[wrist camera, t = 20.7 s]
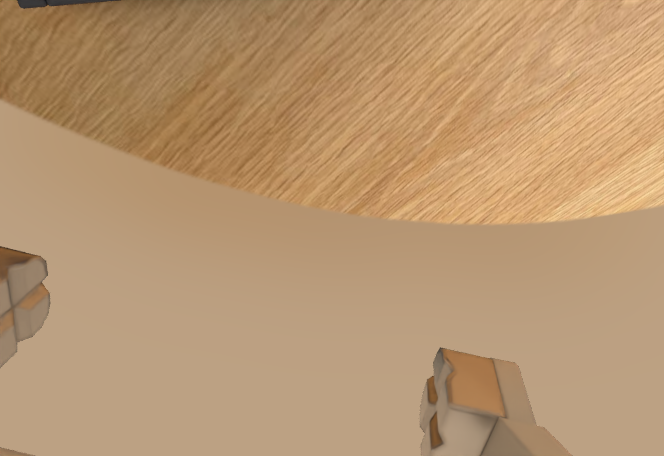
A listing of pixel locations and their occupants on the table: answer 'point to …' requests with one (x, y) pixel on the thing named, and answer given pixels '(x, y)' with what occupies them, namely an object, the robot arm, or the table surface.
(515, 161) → the table surface
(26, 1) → the tray
